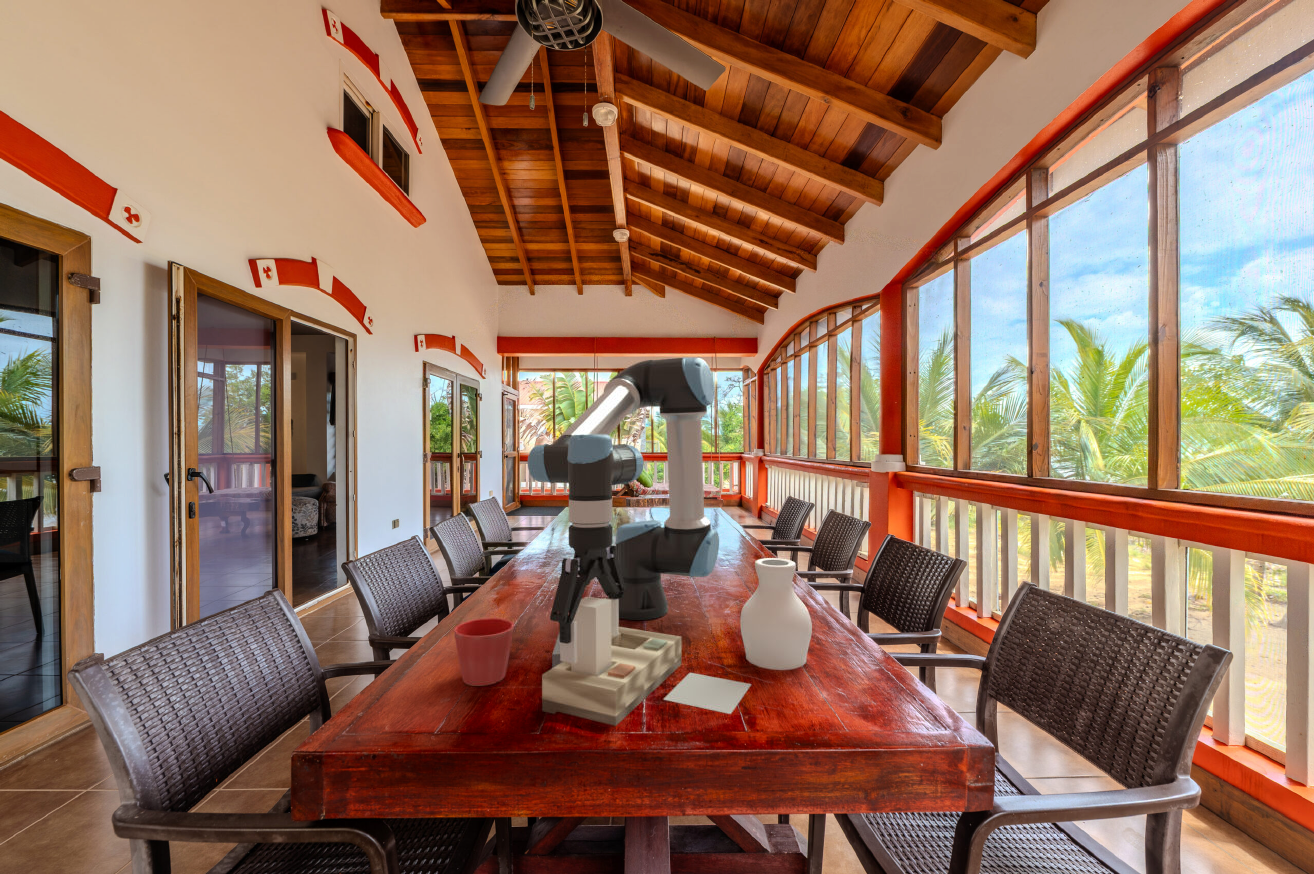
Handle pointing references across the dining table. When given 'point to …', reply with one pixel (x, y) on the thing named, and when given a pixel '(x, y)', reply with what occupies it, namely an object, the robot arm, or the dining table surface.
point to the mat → (708, 692)
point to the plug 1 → (556, 654)
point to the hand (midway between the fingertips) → (591, 647)
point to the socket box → (614, 678)
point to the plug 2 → (593, 636)
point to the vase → (775, 619)
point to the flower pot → (483, 650)
